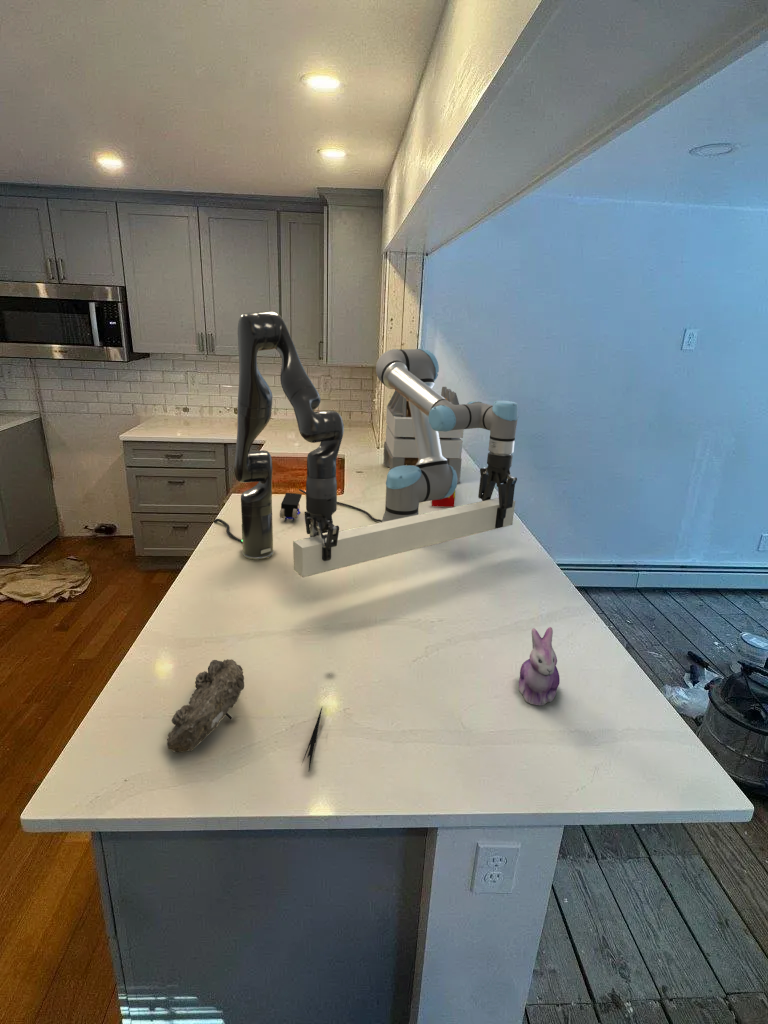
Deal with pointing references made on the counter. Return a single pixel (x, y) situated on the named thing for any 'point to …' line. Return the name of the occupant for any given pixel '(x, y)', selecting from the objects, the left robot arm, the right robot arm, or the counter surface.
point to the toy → (445, 501)
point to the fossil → (206, 705)
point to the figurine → (540, 671)
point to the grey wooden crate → (402, 437)
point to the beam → (397, 536)
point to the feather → (313, 740)
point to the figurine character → (290, 506)
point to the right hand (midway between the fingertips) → (492, 524)
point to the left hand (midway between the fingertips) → (321, 555)
